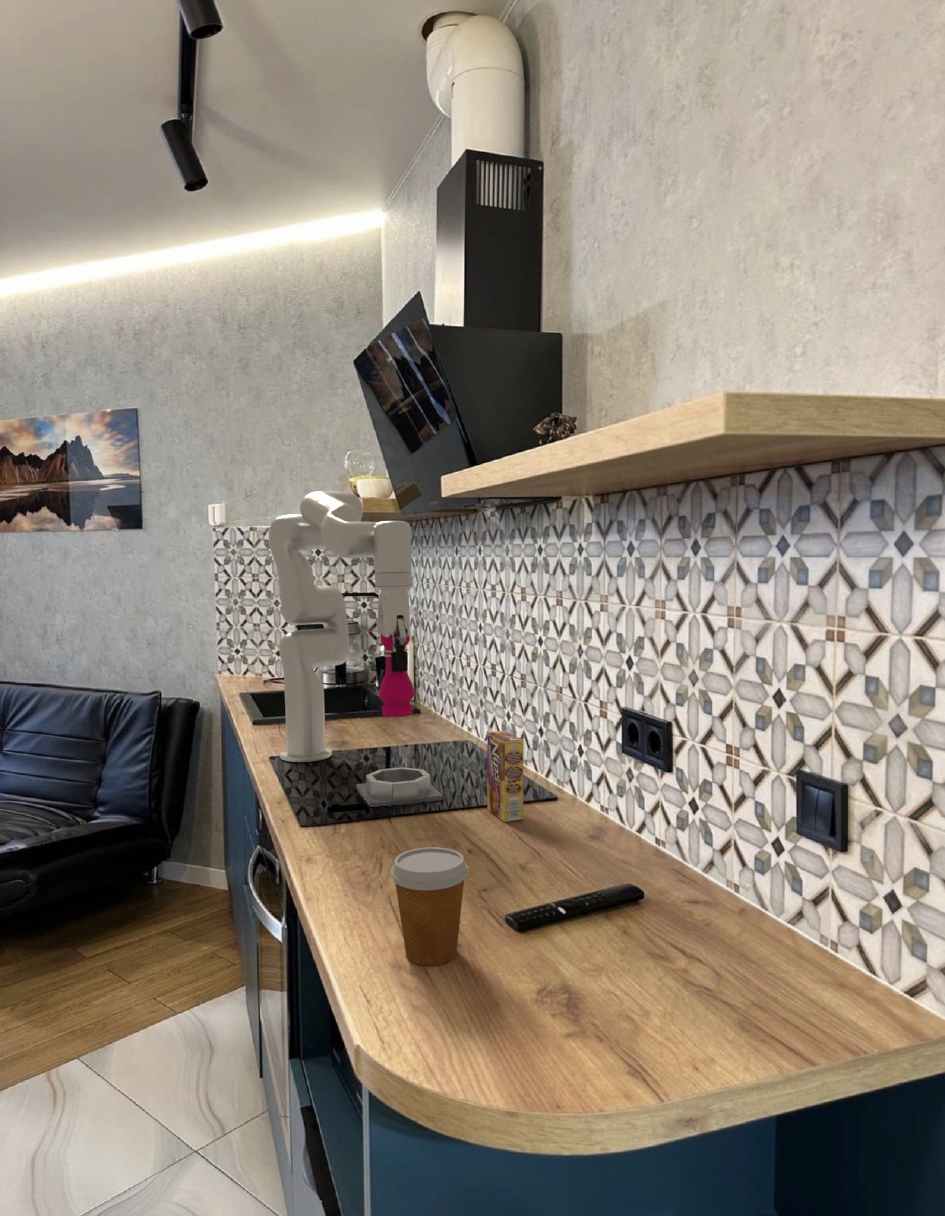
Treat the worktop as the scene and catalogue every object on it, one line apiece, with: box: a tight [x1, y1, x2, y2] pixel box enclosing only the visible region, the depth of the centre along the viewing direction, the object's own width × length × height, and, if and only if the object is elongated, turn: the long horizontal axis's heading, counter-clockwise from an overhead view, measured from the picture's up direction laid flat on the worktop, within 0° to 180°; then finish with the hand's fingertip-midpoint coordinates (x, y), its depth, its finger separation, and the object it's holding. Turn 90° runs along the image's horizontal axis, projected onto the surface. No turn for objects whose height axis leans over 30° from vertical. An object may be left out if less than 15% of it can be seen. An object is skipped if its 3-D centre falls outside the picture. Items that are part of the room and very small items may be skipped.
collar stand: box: [355, 766, 444, 808], centre depth 174 cm, size 15×15×4 cm
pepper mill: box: [378, 628, 415, 718], centre depth 172 cm, size 7×7×20 cm
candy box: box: [486, 730, 525, 823], centre depth 159 cm, size 9×4×15 cm, turn 20°
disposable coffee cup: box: [390, 846, 469, 967], centre depth 103 cm, size 10×10×12 cm
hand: (396, 669), depth 172 cm, fingers closed on pepper mill, 5 cm apart
